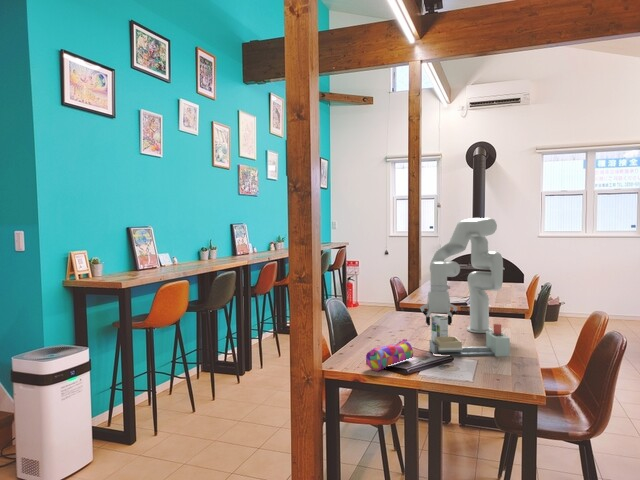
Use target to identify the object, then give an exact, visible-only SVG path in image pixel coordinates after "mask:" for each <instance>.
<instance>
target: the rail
mask: <svg viewBox="0 0 640 480" xmlns="http://www.w3.org/2000/svg"><path fill="white" fill-rule="evenodd" d="M462 347H463V350H461V352H438V349H437V344H436V343H435V342H434V341H433V340H431V339H429V351H430V353H431V352H432V353H434V354H441V355H450V356H453V357H456V358H457V357H496V356H495V353H494V352H492V351H491V350H490V347H488V346H486V345H485V346H462ZM432 353H431V354H432Z"/></svg>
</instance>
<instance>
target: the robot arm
mask: <svg viewBox="0 0 640 480" xmlns="http://www.w3.org/2000/svg"><path fill="white" fill-rule="evenodd" d="M497 226H498V225H497V221H496V220H495V219H494V218H492V217H484V218H483V217H481V218H480V217H472V218H466V219H463V220H460V221H459V222H457V224H456V225H455V228H454V231H453V233H452V235H451V237H450V239H449V241H448V242H447V243H445V244H444V245H442V247H440V248H439V249H438V250H437V251H436V252H435V253H434V255H433V257H432V259H431V262H430V265H429V272H430V290H428V293H427V303H425V304H423V305H421V306H419V309H420V311H421V312H422V313H421V314H423V315H424V316H425V323H426V324H427V326H431V317H430V315H431V314H447V317H448V326H451V325H452V323H453V316H454V315H455V314H456V312H457V310H458V306H456V305H454V304H452V303H451V297H450V292H449V291H448V290H450V289H451V286H450V285H448V278H449V277H450V278H453V277H456V276H458V275H459V274H460V272H461V265H460V264H459V263H458V262H456V261H453V260H446V259H447V258H450V257H452V256H455V255H459V254H461V253H463V252H464V251H466V248H467V246H468V244H469V241H470V243H471V244H470V250H471V251H470V263H471V266H472V268H473V269H477V271H471V272H470V273H469V274H468V276H467V284H468V291H469V326H467V327H466V330H467V331H468V332H470V333H475V334H486V331H493V329H492V328H493V327H490V318H489V317H490V314H489V313H490V303H489V301H490V298H489V295H488V294H487V292H486V291H492V292H493V291H494V292H498V291H500V290H501V289H502V287H503V279H504V278H503V277H504V259H503V256H502V254H501V253H500V252H498V251H493V250H490V251H489V241H488V239H487V236H492V235H494V234H495V233H496V231H497ZM478 269H479V271H478ZM480 270H490V271H480ZM451 308H453V309H452V311H451ZM425 309H426V310H427V311H425Z"/></svg>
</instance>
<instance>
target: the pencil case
mask: <svg viewBox="0 0 640 480" xmlns="http://www.w3.org/2000/svg"><path fill="white" fill-rule="evenodd" d="M412 357H413V358H414V351H413V347H412V345H411V343H409V342H408V339H405V338H403V339H402V340H399V341H397V342H395V343H393V344H389V345H383V346H379V347H374V348H373V349H371V350H369V351H367V353H366V355H365V358H366V359H365V360H366V361H365V362H366V364H367V365H368V367H369V368H370V369H371V370H372V371H374V370H375V371H376V372H379V371H380V370H384V368H385V369H387V368H386V366H388V365H391V364H394V363H397V362H400V361H403V360H406V359H409V358H412ZM413 358H412V359H413Z"/></svg>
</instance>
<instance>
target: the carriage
mask: <svg viewBox="0 0 640 480" xmlns="http://www.w3.org/2000/svg"><path fill="white" fill-rule="evenodd" d="M434 338H435V343H436V344H437V349H438V352H461V350H463V347H464V346H463V343H462V341H461V339H459V338H458V337H457V336H455V335H454V336H448V337H434Z"/></svg>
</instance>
